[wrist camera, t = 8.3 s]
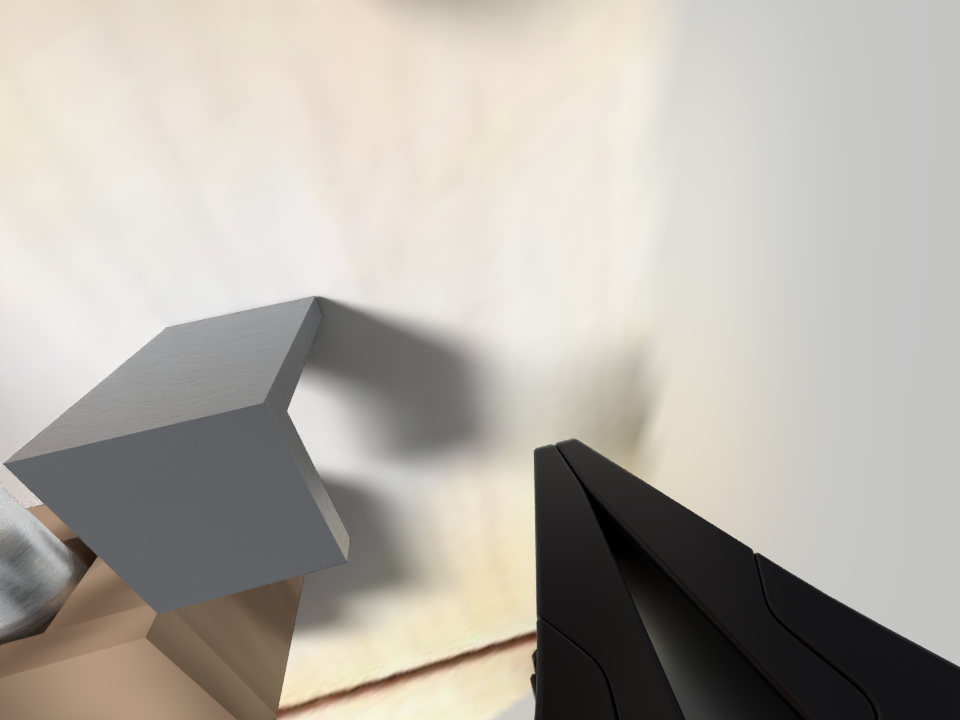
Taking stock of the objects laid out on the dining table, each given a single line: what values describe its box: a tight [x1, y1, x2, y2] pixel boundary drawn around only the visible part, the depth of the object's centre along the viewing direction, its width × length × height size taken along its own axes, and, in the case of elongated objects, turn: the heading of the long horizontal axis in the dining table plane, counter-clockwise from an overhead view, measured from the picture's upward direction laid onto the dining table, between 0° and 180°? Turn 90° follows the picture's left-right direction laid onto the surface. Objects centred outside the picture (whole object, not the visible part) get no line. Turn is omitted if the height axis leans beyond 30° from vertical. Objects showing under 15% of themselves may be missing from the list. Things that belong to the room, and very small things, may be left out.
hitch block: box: [0, 505, 304, 720], centre depth 15 cm, size 10×8×7 cm
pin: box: [0, 485, 89, 645], centre depth 14 cm, size 5×14×5 cm, turn 9°
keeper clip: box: [4, 296, 350, 614], centre depth 12 cm, size 5×6×7 cm
